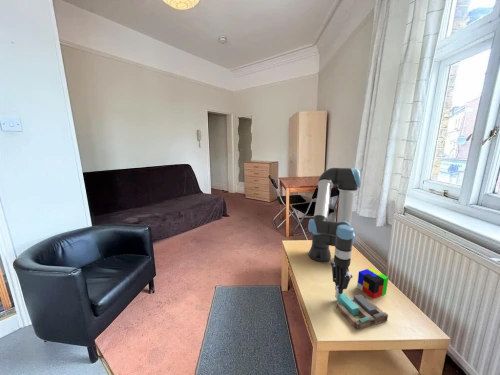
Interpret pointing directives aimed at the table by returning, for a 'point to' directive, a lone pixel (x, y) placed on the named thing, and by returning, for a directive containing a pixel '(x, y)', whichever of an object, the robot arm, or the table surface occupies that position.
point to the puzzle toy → (372, 282)
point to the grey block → (365, 304)
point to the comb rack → (363, 316)
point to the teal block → (348, 304)
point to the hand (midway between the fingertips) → (338, 297)
